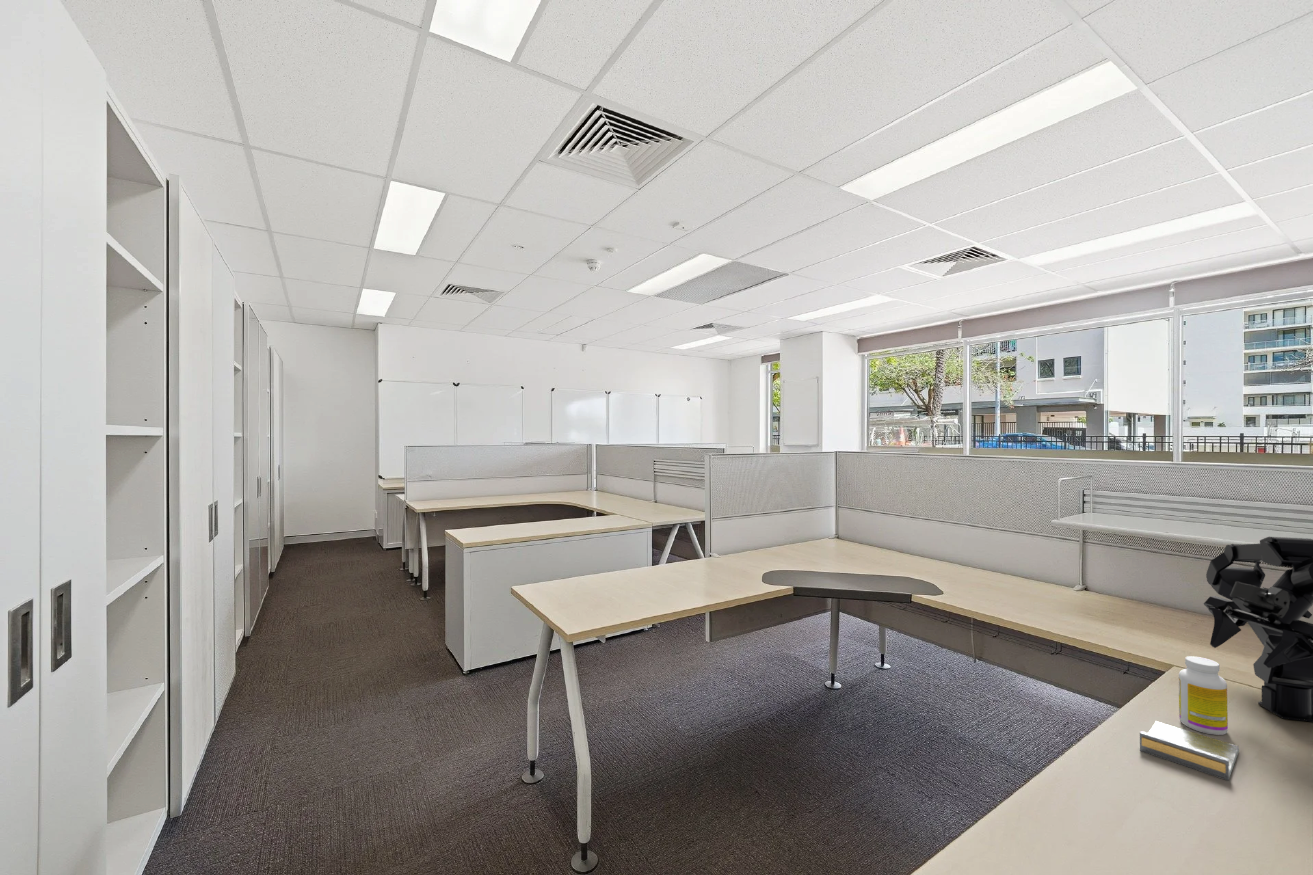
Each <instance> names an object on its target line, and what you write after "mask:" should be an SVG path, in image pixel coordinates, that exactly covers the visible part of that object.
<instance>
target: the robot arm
mask: <svg viewBox="0 0 1313 875" xmlns="http://www.w3.org/2000/svg"><path fill="white" fill-rule="evenodd" d="M1223 550H1224V551H1223V552H1222V553H1220V554H1219V555H1217V556H1216V557H1214V558H1212V559H1211V560H1210V562H1209V565H1208V566H1207V567H1208V568H1207V570H1206V575H1205V576H1206V582H1207V583H1208V585H1210V586H1211V588H1213V590H1214V591H1215V592H1216V593H1217V594H1218V595H1219V596H1217V595H1215V596H1213V595H1212V596H1209V597H1208V598H1207V599H1205V601H1204V602H1203V605H1204V606H1205V607H1206V609H1208V610H1207V611H1208V612H1210V614H1211V615H1213V619H1214V621H1213V622H1214V623H1213V629H1212V634H1211V638H1210V642H1209V645H1210V646H1211V647H1212V648H1214V649H1216V648H1218V647H1219V646H1221V645H1223V644H1225V643H1226V642H1227V641H1229V640H1230V639H1231V638H1233V637H1234V636H1235V635H1237V634H1238V633H1239V632H1241V631H1242V628H1241V627H1244V626H1245V625H1246V624H1248V625H1249V626H1250V629H1251V630H1252V631H1253V632H1254V634H1255V635H1256V636H1257V638H1258V640H1259V641H1260V642H1261V644H1262V645H1263V649H1262V652H1261V655H1260V656H1259V657H1258V658H1257V660H1256V661H1254V663H1253V664H1252V666H1253V670H1254V671H1253V672H1254V676H1256V677H1258V678H1259V679H1260V680H1262V681H1263V685H1261V700H1260V701H1259V700H1258V701H1257V703H1258V705H1259V706H1261V707H1262V708H1265V709H1266V710H1267V711H1269V712H1271V713H1272V714H1274V715H1276V716H1278V717H1279V718H1281V719H1283V720H1290V721H1302V722H1312V723H1313V623H1312V622H1308V621H1304V620H1301V619H1302V618H1305V619H1310V618H1311V617H1312V616H1313V614H1312V613H1311V612H1310V611H1309V610H1310V608H1311V607H1312V606H1313V538H1304V537H1287V536H1286V537H1281V536H1266V537H1263V538H1262V539H1260V540H1259V543H1258V542H1257V543H1244V544H1243V543H1230V544H1227V545H1226V546H1225V547H1224V549H1223ZM1234 562H1236V563H1237V562H1239V563H1241V562H1242V563H1254V566H1253V568H1251V567H1239V566H1231V565H1233V564H1234ZM1262 562H1263V563H1264V564H1268V565H1271V566H1275V567H1283V568H1290V569H1287V570H1285V571H1284V572H1283V574H1282V575H1281V576H1280V577H1279V578H1278V579H1277V580H1276V581H1275V582H1274V584H1272V586H1271V587H1269V588H1266V587H1264V586H1263V587H1262V585H1263V582H1264V580H1265V578H1266V573H1265V572H1264V570H1263V569H1262V567H1261V565H1260V564H1261V563H1262ZM1220 596H1221V597H1220ZM1223 597H1224V598H1223Z"/></svg>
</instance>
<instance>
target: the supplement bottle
mask: <svg viewBox="0 0 1313 875" xmlns="http://www.w3.org/2000/svg"><path fill="white" fill-rule="evenodd" d="M1184 659H1185V660H1184V663H1185V666H1186V668H1183V669H1181V670H1180V671H1179V672H1178V711H1179V712H1178V716H1179V721H1180V722H1181V723H1182V724H1183V725H1184V726H1185V727H1187V728H1189V729H1191V730H1194V731H1196V732H1200V733H1204V734H1207V735H1215V736H1222V735H1223V736H1224V735H1226V734H1227V733H1228V732H1229V729H1228V728H1229V721H1228V716H1229V715H1228V713H1229V711H1228V684H1227V681H1226V680H1225V679H1224V678H1223V677H1222V676H1221V675H1219V673H1220V668H1221V667H1220V664H1219V663H1218V662H1217V661H1215V660H1213V659H1209V658H1205V657H1200V656H1196V655H1192V656H1191V655H1190V656H1189V655H1187V656H1185V658H1184Z"/></svg>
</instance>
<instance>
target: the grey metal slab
mask: <svg viewBox="0 0 1313 875" xmlns="http://www.w3.org/2000/svg"><path fill="white" fill-rule="evenodd" d="M1239 749H1240V748H1239V745H1236V744H1234V743H1233V744H1232V743H1229V742H1226V741H1224V740H1221V739H1216V738H1213V737H1210V736H1206V735H1204V734H1200V733H1198V732H1194V731H1190V730H1187V729H1183V728H1180V727H1178V726H1177V727H1176V726H1173V725H1170V724H1167V723H1164V722H1161V721H1157V720H1155V722H1154V724H1153V725H1152V727H1150V729H1149V731H1148V732H1146V731H1142V730H1140V731H1139V752H1143V753H1146V754H1148V755H1152V756H1155V757H1158V758H1161V759H1164V760H1167V761H1170V762H1173V763H1176V764H1178V765H1182V766H1185V767H1186V768H1190V769H1193V770H1196V771H1199V772H1202V773H1204V774H1208V775H1211V776H1213V777H1217V778H1218V779H1222V780H1225V781H1229V780H1230V778H1231V776H1232V775H1231V774H1232V771H1233V768H1234V766H1235V763H1236V761H1237V759H1238V758H1237V757H1238V755H1239V751H1240V750H1239Z"/></svg>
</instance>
